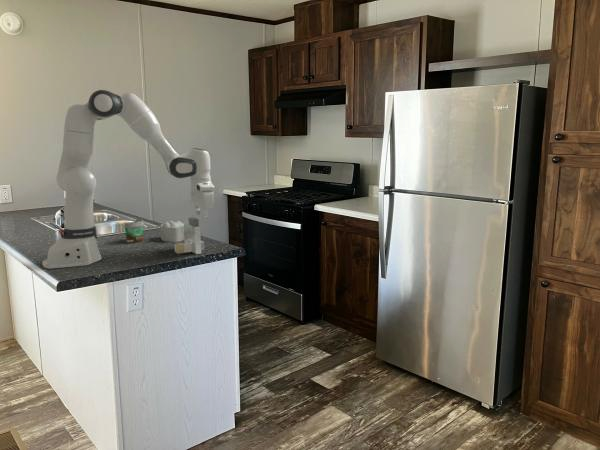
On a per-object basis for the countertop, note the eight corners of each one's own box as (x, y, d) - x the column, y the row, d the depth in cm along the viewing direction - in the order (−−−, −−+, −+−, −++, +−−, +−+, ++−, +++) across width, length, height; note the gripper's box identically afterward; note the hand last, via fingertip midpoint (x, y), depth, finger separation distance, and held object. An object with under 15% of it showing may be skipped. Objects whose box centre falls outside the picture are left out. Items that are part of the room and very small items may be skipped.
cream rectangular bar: (177, 253, 223) (177, 245, 222) (175, 251, 226) (174, 243, 225) (204, 249, 229) (204, 241, 228) (201, 248, 232) (201, 240, 231)
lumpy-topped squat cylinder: (173, 242, 244) (172, 225, 242) (155, 239, 251) (154, 222, 249) (189, 238, 252) (188, 221, 250) (172, 235, 259) (171, 219, 258)
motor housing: (195, 254, 221) (194, 220, 218) (184, 247, 234) (183, 215, 231) (201, 253, 223) (199, 219, 220) (190, 246, 235) (188, 214, 232)
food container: (137, 244, 240) (135, 223, 238) (125, 244, 242) (123, 223, 240) (149, 238, 252) (148, 219, 250) (138, 238, 253) (137, 218, 252)
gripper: (186, 183, 232) (187, 213, 235) (201, 187, 215) (202, 219, 217) (199, 182, 235) (200, 212, 238) (215, 187, 218) (216, 218, 221)
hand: (201, 215), depth 228 cm, fingers open, 8 cm apart
